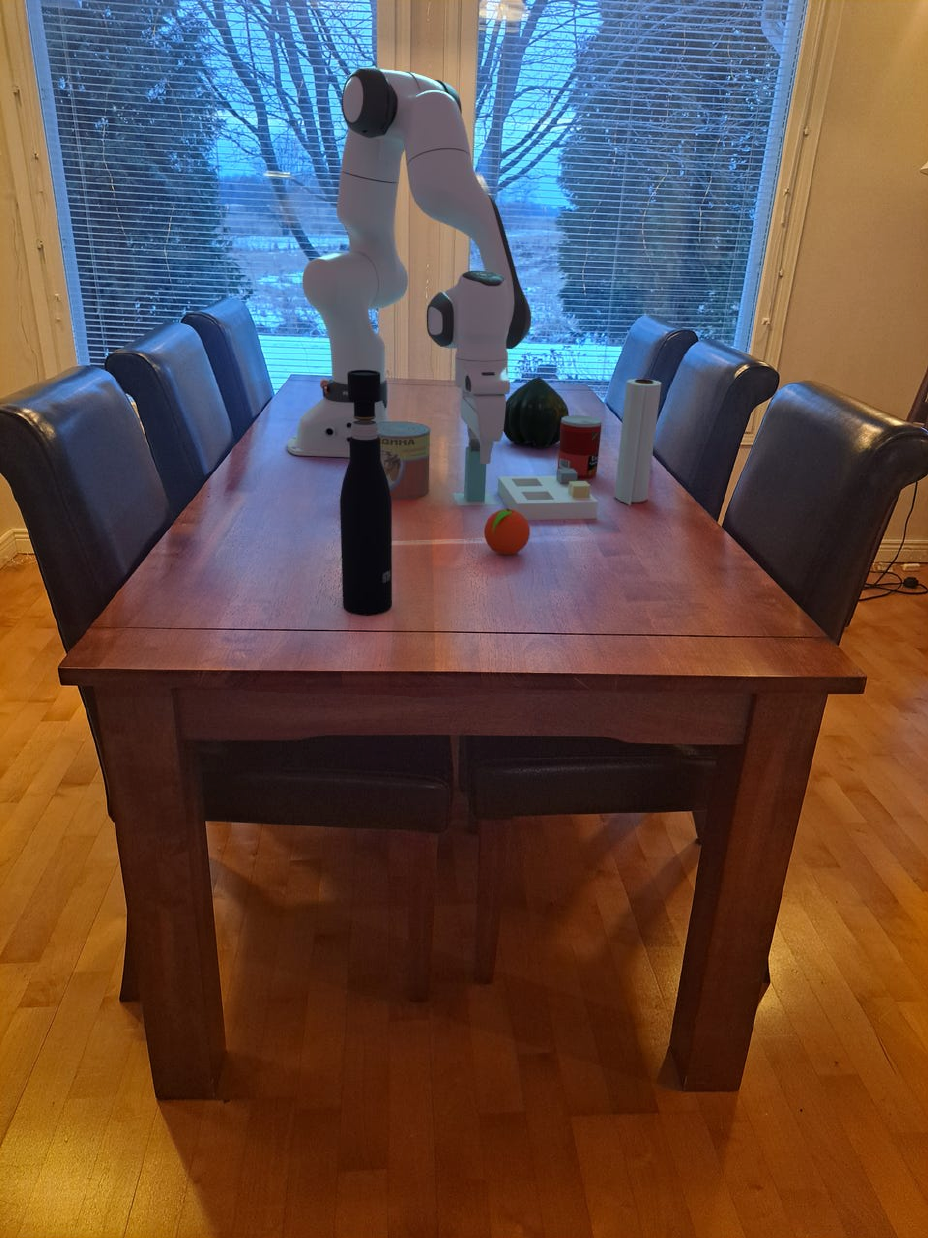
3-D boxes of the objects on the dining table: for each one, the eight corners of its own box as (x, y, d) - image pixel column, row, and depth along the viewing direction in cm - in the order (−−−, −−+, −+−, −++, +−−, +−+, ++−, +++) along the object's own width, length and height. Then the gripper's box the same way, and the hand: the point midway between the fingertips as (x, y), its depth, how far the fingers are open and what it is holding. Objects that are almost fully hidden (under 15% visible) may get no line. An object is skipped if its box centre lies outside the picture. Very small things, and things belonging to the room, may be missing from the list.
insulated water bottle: (343, 595, 119) (337, 367, 106) (391, 595, 119) (391, 368, 106) (341, 615, 113) (334, 376, 100) (392, 615, 113) (391, 377, 101)
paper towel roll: (626, 491, 167) (640, 376, 158) (653, 499, 163) (668, 381, 154) (603, 498, 162) (615, 380, 153) (630, 506, 158) (644, 385, 149)
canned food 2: (595, 480, 173) (600, 425, 168) (554, 477, 174) (559, 421, 170) (597, 470, 180) (603, 416, 175) (558, 467, 181) (563, 413, 176)
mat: (458, 508, 154) (458, 505, 154) (451, 496, 160) (452, 493, 160) (497, 507, 155) (497, 504, 155) (489, 495, 162) (489, 492, 161)
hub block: (516, 523, 148) (517, 491, 146) (497, 494, 162) (498, 465, 160) (596, 521, 150) (599, 490, 148) (570, 493, 165) (572, 464, 162)
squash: (526, 431, 185) (562, 372, 187) (479, 421, 196) (512, 365, 197) (559, 468, 196) (592, 411, 197) (512, 456, 206) (543, 402, 207)
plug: (467, 501, 156) (469, 446, 152) (464, 496, 159) (465, 441, 155) (484, 501, 156) (487, 445, 152) (481, 496, 159) (483, 441, 155)
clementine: (511, 567, 130) (513, 521, 127) (471, 557, 133) (472, 512, 130) (536, 551, 136) (539, 507, 133) (497, 542, 139) (499, 499, 136)
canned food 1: (356, 498, 158) (355, 431, 153) (383, 481, 168) (383, 418, 163) (414, 506, 155) (415, 438, 150) (438, 489, 164) (439, 425, 159)
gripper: (452, 365, 157) (451, 442, 163) (473, 385, 139) (472, 471, 145) (487, 365, 158) (485, 441, 164) (512, 385, 140) (509, 470, 146)
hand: (479, 456), depth 154 cm, fingers open, 8 cm apart
